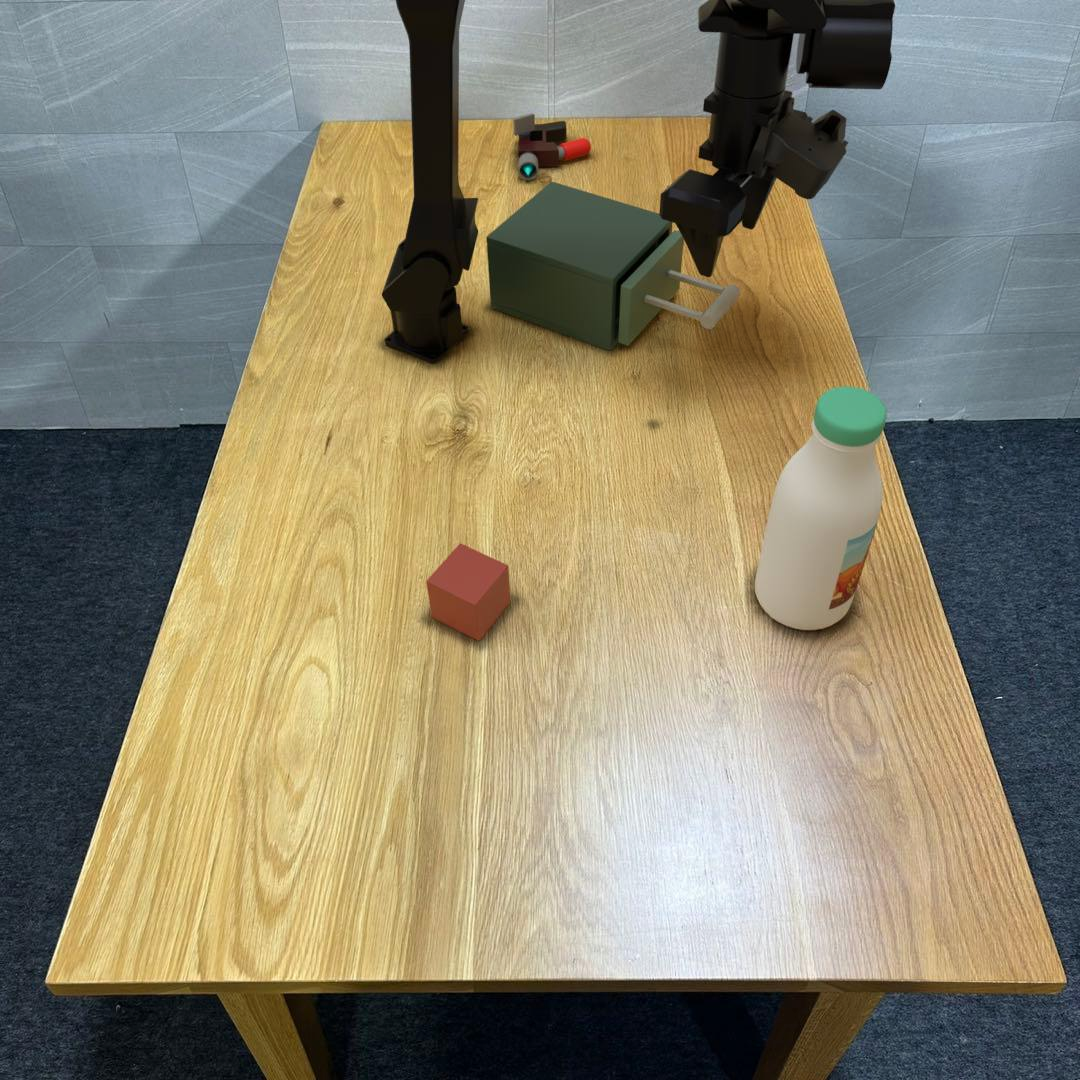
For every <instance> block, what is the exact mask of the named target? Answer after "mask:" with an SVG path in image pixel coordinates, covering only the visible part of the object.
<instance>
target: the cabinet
mask: <svg viewBox="0 0 1080 1080" xmlns="http://www.w3.org/2000/svg"><path fill="white" fill-rule="evenodd" d="M673 225H674V223H673V222H670V221H667V220H664V219H662V218H661V216H660V215H659V212H656V211H652V210H648V209H645V208H642V207H639V206H636V205H632V204H628V203H626V202H622V201H618V200H614V199H611V198H609V197H605V196H603V195H602V196H601V195H599V194H596V193H593V192H592V193H591V192H589V191H585V190H583V189H579V188H576V187H572V186H568V185H566V184H562V183H559V182H555V181H550V182H549V183H548V184H546V185H545V186H544V187H543V188H542V189H541V190H539V191H538V192H537V193H536V194H535V195H533V196H532V197H531V198H529V200H528V201H526V203H524V204H523V205H522V206H520V207H519V208H518V209H517V210H516V211H514V213H513V214H511V215H510V216H509V217H508V218H507V219H505V220H503V222H502V223H501V224H499V226H497V227H496V228H495V229H494V230H492V231H491V232H490V233H488V235H486V237H485V238H486V239H485V240H486V253H487V270H488V285H489V286H488V287H489V300H490V301H489V302H490V308H491V309H493V310H495V311H499V312H501V313H504V314H507V315H509V316H512V317H515V318H518V319H521V320H523V321H526V322H529V323H531V324H533V325H534V324H535V325H537V326H540V327H543V328H546V329H548V330H551V331H554V332H556V333H559V334H562V335H565V336H567V337H570V338H573V339H574V340H575V339H576V340H579V341H581V342H584V343H587V344H590V345H591V346H595V347H598V348H601V349H603V350H606V351H609V352H611V351H612V350H613V349H614V348H615V346H617V344H618V343H619V342H618V336H619V323H618V324H617V325H616V326H615V307H616V284H617V283H616V282H617V281H618V280H619V279H620V278H621V277H622V276H623V275H624V274H625V273H626V272H627V271H628V270H629V268H630V267H631V266H632V265H633V264H634V263H635V262H636V261H637V260H638V259H639V258H640V257H641V256H642V255H643V254H644V253H645V252H646V251H647V250H648V249H649V248H650V247H651V246H652V245H653V244H654V243H655V242H656V241H657V240H658V239H659V245H658V247H659V246H660V245H661V244H662V242H663V241H664V240H665V239H666V238H667V237H668V236H669V235H670V234H671V233H672V232H673Z"/></svg>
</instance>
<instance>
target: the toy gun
mask: <svg viewBox="0 0 1080 1080" xmlns="http://www.w3.org/2000/svg"><path fill="white" fill-rule="evenodd" d="M535 117H536V116H535V113H533V112H531V113H528V114H524V115H523V114H522V115H520V116H517V117H513V118H512V123H513V135H514V136H515V137H518V162H517V171H518V172H517V173H518V175H519V177H520V178H521V179H522V180H524V181H532V180H534V179H536V178H537V177H538V175H539V168H540V167H559V166H560V160H562V161H564V162H565V161H570V160H573V159H577V158H581V157H584V156H587V155H589V154H590V152H591V150H592V144H591V142H590V140H589V139H588V138H586V137H581V138H578V139H573V140H570V141H566V140H567V136H568V135H567V131H568V130H567V129H568V128H567V122H566V121H565V120H559V121H553V122H546V123H535V122H536V120H535ZM557 143H560V144H559V146H557Z"/></svg>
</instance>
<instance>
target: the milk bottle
mask: <svg viewBox="0 0 1080 1080" xmlns="http://www.w3.org/2000/svg"><path fill="white" fill-rule="evenodd" d="M887 416H888V412H887V407H886V405H885V403H884V402H883V401H882V399H881V398H880V397H879V396H878V395H876V394H875V393H873V392H871V391H870V390H867V389H864V388H862V387H857V386H849V385H848V386H847V385H845V386H844V385H843V386H836V387H833V388H830V389H828V390H826V391H825V392H823V393H822V394H821V395H820V397H819V399H818V400H817V402H816V405H815V408H814V414H813V419H812V422H811V430H812V434H811V435H810V437H809V439H808V440H807V441H806V442H805V443H804V444H803V445H802V446H801V448H800V449H797V451H796V452H795V454H794V455H793V456H792V457H790V459H789V460H788V462H787V463H786V464H785V466H784V468H783V470H782V471H781V473H780V475H779V478H778V480H777V482H776V485H775V489H774V493H773V496H772V501H771V505H770V509H769V513H768V517H767V522H766V526H765V529H764V536H763V540H762V546H761V550H760V555H759V558H758V564H757V569H756V574H755V580H754V592H755V596H756V598H757V600H758V603H759V605H760V606H761V608H762V609H763V611H764V612H765V613H766V614H767V615H768V616H769V617H770V618H772V619H774V620H775V621H776V622H777V623H780V624H782V625H784V626H786V627H788V628H792V629H795V630H802V631H816V630H823V629H826V628H828V627H831V626H833V625H834V624H836V623H838V622H839V621H841V620H842V619H843V618H844V617H845V616H846V615H847V613H848V612H849V609H850V608H851V606H852V603H853V600H854V597H855V594H856V592H857V589H858V586H859V583H860V579H861V576H862V573H863V570H864V567H865V564H866V561H867V558H868V555H869V552H870V549H871V546H872V543H873V538H874V537H875V532H876V529H877V526H878V523H879V518H880V514H881V510H882V505H883V496H884V495H883V494H884V493H883V492H884V491H883V479H882V475H881V471H880V468H879V466H878V463H877V459H876V458H877V457H876V452H875V451H876V450H875V449H876V448H875V447H876V446H877V445H878V444H879V442H880V441H881V438H882V433H883V431H884V429H885V425H886V422H887Z"/></svg>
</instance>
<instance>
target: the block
mask: <svg viewBox="0 0 1080 1080" xmlns="http://www.w3.org/2000/svg"><path fill="white" fill-rule="evenodd" d="M509 570H510V568H509V565H508V564H506V563H504V562H501V561H500V560H498V559H495V558H493V557H491V556H489V555H488V554H485V553H482V552H481V551H479V550H476V549H474V548H472V547H470V546H468V545H465V544H464V543H461V542H459V544H458V545H457V546H456V547H455V548H454V549H453V550H452V551H451V552H450V554H449V555H448V556H447V557H446V558H445V559H444V561H442V563H441V564H440V565H439V566H438V567H437V568H436V569H435V571H434V572H433V573H432V574H431V575H430V576H429V577H428V578H427V579H426V581H425V582H426V589H427V595H428V602H429V607H430V614H431V618H432V619H434V620H435V621H437V622H440V623H442V624H444V625H445V626H448V627H450V628H451V629H454V630H456V631H457V632H460V633H462V634H464V635H465V636H467V637H470V638H472V639H474V640H475V641H477V642H480V641H481V640H482V639H483V637H484V636H486V633H487V632H488V631H489V630H490V628H491V627H492V626H493V625H494V624H495V623H496V621H497V620H498V619H499V618H500V616H501V615H502V614H503V612H504V611H505V610H506V609H507V608H508V606H509V605H510V604H511V602H512V599H511V585H510V584H511V583H510V571H509Z"/></svg>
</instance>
